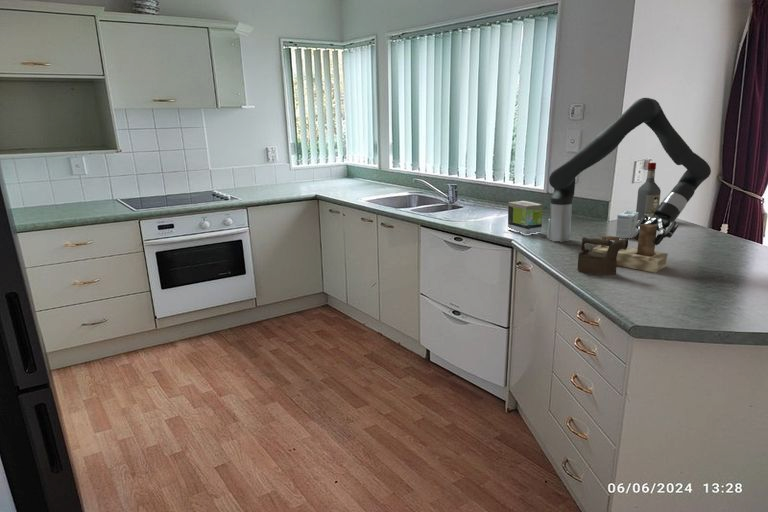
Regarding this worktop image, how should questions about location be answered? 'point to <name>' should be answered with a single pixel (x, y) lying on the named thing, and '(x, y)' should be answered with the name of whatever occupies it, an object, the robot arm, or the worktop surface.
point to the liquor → (648, 194)
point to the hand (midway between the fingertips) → (644, 241)
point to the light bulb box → (626, 224)
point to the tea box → (525, 216)
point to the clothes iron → (600, 256)
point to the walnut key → (646, 240)
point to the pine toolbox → (635, 257)
